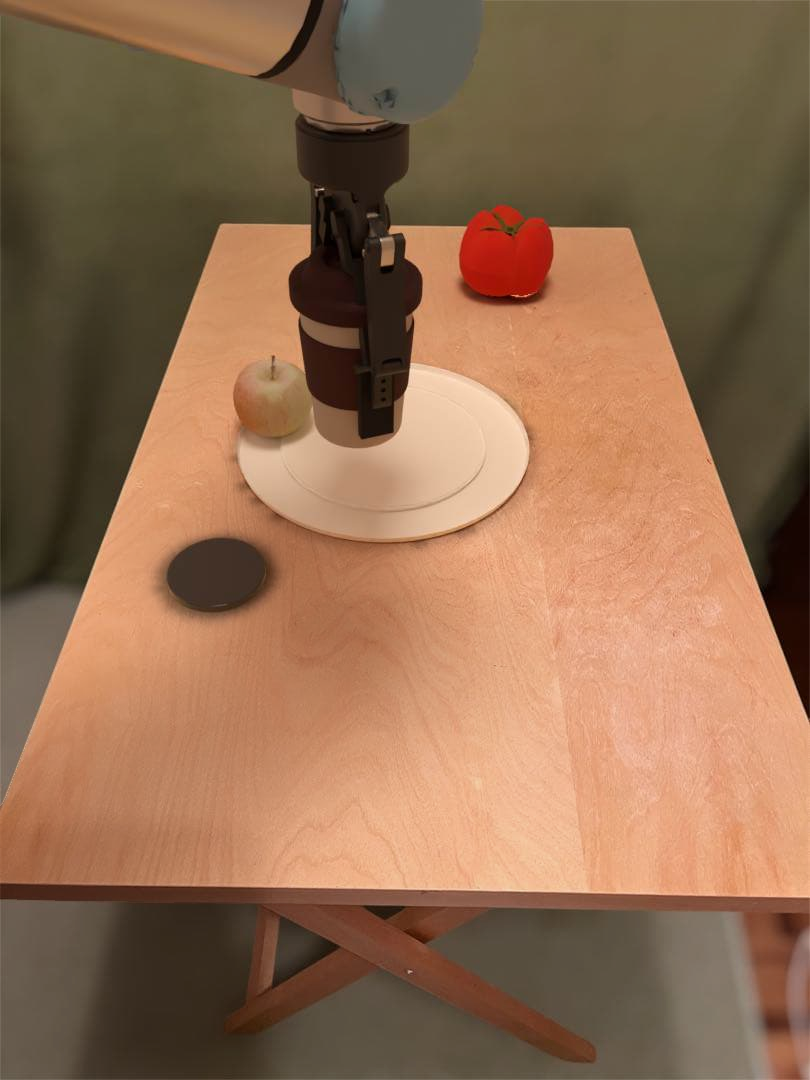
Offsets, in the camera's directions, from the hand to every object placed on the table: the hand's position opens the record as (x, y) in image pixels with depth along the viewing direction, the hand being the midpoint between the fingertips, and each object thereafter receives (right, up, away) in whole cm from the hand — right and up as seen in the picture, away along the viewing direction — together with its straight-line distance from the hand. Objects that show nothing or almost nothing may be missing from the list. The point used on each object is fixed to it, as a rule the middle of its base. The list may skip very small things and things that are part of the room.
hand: (357, 402), depth 75 cm
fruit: (-9, 0, +15) cm, 17 cm away
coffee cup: (0, -2, +2) cm, 3 cm away
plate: (+2, -2, +13) cm, 14 cm away
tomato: (+16, +20, +37) cm, 45 cm away
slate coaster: (-11, -14, 0) cm, 18 cm away
